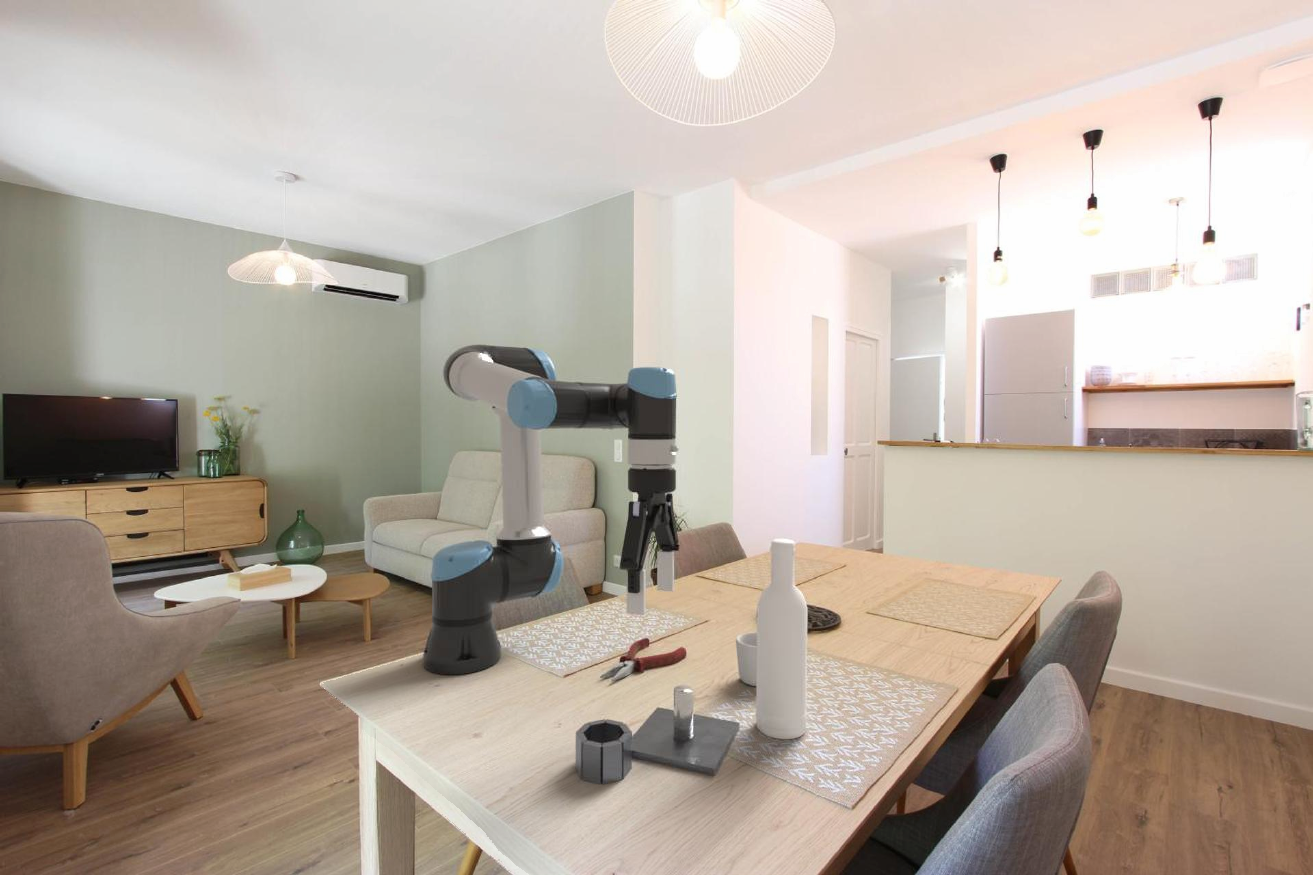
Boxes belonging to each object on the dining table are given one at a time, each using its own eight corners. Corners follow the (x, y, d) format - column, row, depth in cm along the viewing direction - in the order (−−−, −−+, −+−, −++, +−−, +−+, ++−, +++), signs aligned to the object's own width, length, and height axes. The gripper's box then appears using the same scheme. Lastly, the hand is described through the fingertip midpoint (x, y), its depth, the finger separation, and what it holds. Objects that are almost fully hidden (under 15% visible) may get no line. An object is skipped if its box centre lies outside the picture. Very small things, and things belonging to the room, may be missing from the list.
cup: (796, 678, 117) (796, 636, 117) (790, 695, 110) (791, 651, 110) (740, 670, 121) (740, 629, 121) (731, 686, 113) (731, 643, 113)
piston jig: (622, 754, 90) (622, 700, 90) (657, 712, 103) (657, 665, 103) (714, 775, 85) (715, 718, 85) (739, 728, 98) (739, 679, 98)
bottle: (816, 736, 96) (818, 544, 95) (770, 743, 93) (772, 546, 93) (790, 712, 103) (792, 535, 103) (747, 719, 101) (749, 537, 100)
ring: (567, 775, 85) (567, 739, 84) (592, 749, 91) (592, 716, 91) (616, 787, 82) (616, 750, 82) (638, 759, 89) (638, 725, 89)
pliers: (582, 677, 118) (583, 664, 118) (644, 646, 135) (644, 635, 134) (630, 693, 112) (630, 679, 111) (688, 658, 128) (689, 646, 128)
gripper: (646, 472, 84) (646, 628, 84) (696, 462, 107) (696, 584, 107) (596, 471, 86) (596, 622, 86) (655, 461, 110) (655, 580, 110)
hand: (651, 601), depth 97 cm, fingers open, 13 cm apart
